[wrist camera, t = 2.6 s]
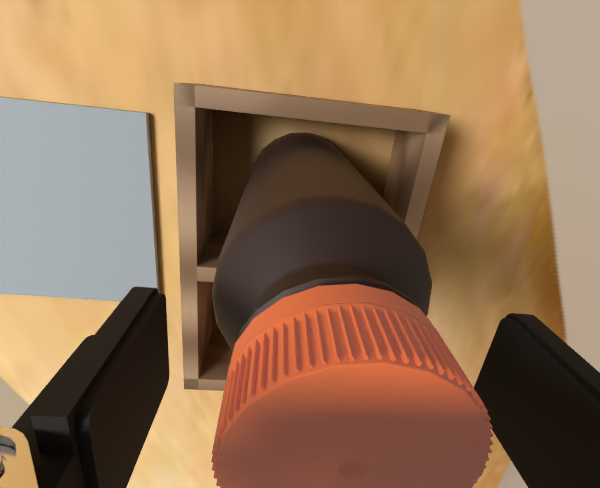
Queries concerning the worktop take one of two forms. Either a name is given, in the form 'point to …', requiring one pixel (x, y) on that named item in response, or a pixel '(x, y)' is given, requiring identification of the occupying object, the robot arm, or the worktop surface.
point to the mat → (75, 201)
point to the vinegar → (334, 339)
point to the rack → (198, 193)
